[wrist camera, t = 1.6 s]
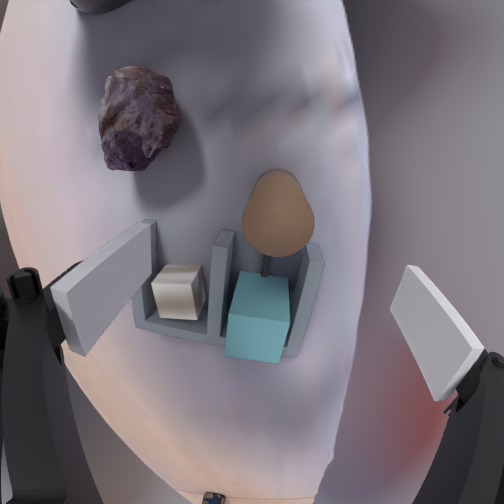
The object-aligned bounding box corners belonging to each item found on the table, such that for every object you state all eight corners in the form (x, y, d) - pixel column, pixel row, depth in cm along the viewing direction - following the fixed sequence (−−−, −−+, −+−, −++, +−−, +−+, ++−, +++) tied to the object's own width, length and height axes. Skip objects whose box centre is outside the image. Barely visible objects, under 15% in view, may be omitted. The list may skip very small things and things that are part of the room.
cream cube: (165, 264, 35) (151, 283, 30) (201, 264, 34) (190, 284, 30) (172, 296, 37) (160, 317, 32) (206, 297, 36) (197, 320, 32)
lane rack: (145, 219, 32) (126, 232, 28) (318, 244, 32) (325, 263, 27) (149, 307, 38) (135, 327, 33) (295, 332, 37) (296, 357, 33)
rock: (125, 156, 31) (197, 156, 30) (84, 178, 23) (168, 178, 23) (122, 69, 24) (199, 59, 23) (77, 69, 17) (167, 48, 16)
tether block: (253, 165, 29) (239, 182, 18) (308, 174, 29) (327, 196, 18) (235, 309, 36) (219, 375, 26) (279, 315, 36) (278, 384, 25)
